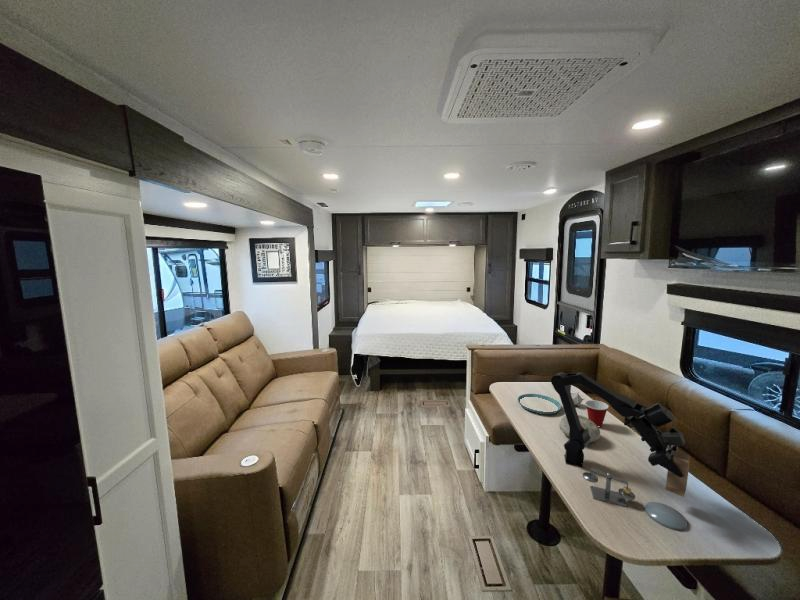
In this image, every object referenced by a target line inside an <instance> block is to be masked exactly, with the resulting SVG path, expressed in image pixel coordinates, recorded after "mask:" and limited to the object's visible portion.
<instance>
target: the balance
mask: <svg viewBox="0 0 800 600" xmlns="http://www.w3.org/2000/svg"><path fill="white" fill-rule="evenodd" d="M589 471H590V472H589ZM589 471H588V472H583V473H582V478H583V479H585V481H587V482H591V483H594V484H595V483H598V482H599V477H598V476H597V475H595V474H594V473H597V474H599V475H601V476H605V478H606V481H605V488H603V487H598V486H594V485H589V487H590V491H591V495H592V499H593V500H598V501H602V502H606V503H609V504H613V505H618V506H622V507H626V506H627V504H626V501H625V500H629V501H632V500H635V499H636V495H635V493H634V492H633V491H632V489H631V488H630V487H629V482H628V481H627V480H624V479H622V478H619V477H617V476H616V475H615V476H614V475H612V474H611V472H609V471H607V472H604V471H602V470H599V469H596V468H594V467H590V470H589ZM592 472H594V473H592ZM612 480H613V481H616V482H619V483H621V484H625V485H626V486H623V488H619V489H618V491H615V490H612V489H611V485H612Z"/></svg>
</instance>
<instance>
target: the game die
mask: <svg viewBox="0 0 800 600" xmlns="http://www.w3.org/2000/svg"><path fill="white" fill-rule="evenodd" d="M571 396H572V399H573V402H574V405H580V406H581V404H582V402H583V401H584V400H585V398H584V399H583V398H582V396H580V394H579V392H577V393H572V392H571Z"/></svg>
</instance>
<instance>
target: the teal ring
mask: <svg viewBox="0 0 800 600" xmlns="http://www.w3.org/2000/svg"><path fill="white" fill-rule="evenodd" d="M524 397H538V398H542V399H545V400H548V401H550V402H552V403H554V404H555V405H556V406H557V407H558V410H557V411H553V412H543V411H537V410H533V409H530V408H527V407H525V406H523V405H522V404H521V403H520V399H522V398H524ZM517 402H518V403H519V405H520V406H521V407H522V408H523V409H524V408H525V410H526V409H527V411H528V410H529V412H530V411H532V412H531V413H533V412H536V413H535V414H537V413H541V414H540V415H543V414H549V415H554V414H556V413H558V412H559V411H560V410H561V408H562V403H560V402H559V401H558V400H556V399H555V398H553V397H550V396H547V395H542V394H537V393H525V394H521V395H519V396H518V397H517ZM553 413H554V414H553Z"/></svg>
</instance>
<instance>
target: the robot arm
mask: <svg viewBox="0 0 800 600" xmlns="http://www.w3.org/2000/svg"><path fill="white" fill-rule="evenodd" d="M550 383H551V385H552V387H553V389H554V391H555V392H556V393H557V394H558V395H559V398H560V402H561V406H562V407H563V411H564V414H565V416H566V418H567V421H568V424H569V427H570V430H569V438H568V440H567V441H566V442H565V443H564V444H563V447H564V450H565V453H564V461H565V464H567V465H569V466H570V465H571V466H575V467H580V468H583V467H584V462H585V461H584V460H585V453H584V451H583V450H584V449H585V448H586V447H587V446H588V445H589V444H590V443H591V442H590V438H591V437H590V436H589V433H588V429H584V428H583V427H582V426H581V424H580V421H579V417H578V415H579V414H578V411H577V408H576V406H575V405H574V402H573V399H572V396H571V393H572V392H571V389H572V385H576V384H579V385H581V386H582V387H584V388H585V389H587V390H589V392H591V393H593V394H595V395H596V396H598V397H599V398H600V399H602V400H604V401H605V402H606V403H607V404H608V405H610V407H611V408H612V409H613V410H614V411H616V413H618V414H619V415H620V416H621V417H624V423H623V425H624V426H628V425H631V426H632V427H633V428H634V430H635V431H636V432H637V433H638V434H639V436H640V437H641V438H640V440H641V442H645V443H646V444H647V445H648V446H649V451H650V452H651V453H650V454H649V456H648V457H647V458H648V460H647V461H648V463H649V464H650V465H651V466H652V467H655V466H658V465H659V466H661V467H662V468H664V469H666V471H668V470H669V471H671V472H672V473H674V474H676V475H677V476H679V477H683V475H682V473H681V471H680V470H679V468H678V467H677V466H676V464H675V463H674V461H673V458H674V455H672V456H670V453H671V451H672V450H673V451H676V452H678V446H679V447H681V446H684V445H685V443H686V440H685V438H684V433H683V432H682V431H680V430H679V429H678V428H677V427H670V429H669V431H666V432H665V431H664V432H663V431H662V430H661V429H659V428H657V429H656V427H661V426H664V425H667V424H669V423H672V422H674V421H675V417H674V414H673V413H672V412H671V410H669V408H667V407H666V406H664V405H662V404H661V403H660V402H657V403H655V404H654V405H652V406H649V407H647V406H646V405H643V404H640V403H638V402H636V401H635V400H634V399H632V398H630V397H628V396H625V395H624V394H619V393H617V392H615V391H613V390H610V389H609V388H608V387H606V386H604V385H603V384H602V383H599V382H598V381H597V380H595V379H593V378H592V377H590V376H589V375H587V374H586V373H584V372H582V371H581V372H568V373H566V372H564V371H561V372H558V373H556V374H554V375H553V376H552V377H551V379H550ZM589 442H590V443H589Z"/></svg>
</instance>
